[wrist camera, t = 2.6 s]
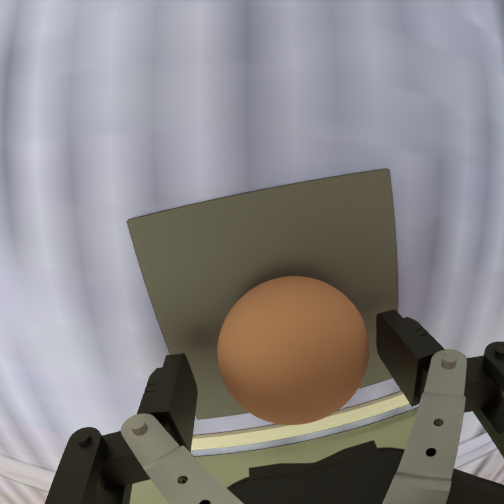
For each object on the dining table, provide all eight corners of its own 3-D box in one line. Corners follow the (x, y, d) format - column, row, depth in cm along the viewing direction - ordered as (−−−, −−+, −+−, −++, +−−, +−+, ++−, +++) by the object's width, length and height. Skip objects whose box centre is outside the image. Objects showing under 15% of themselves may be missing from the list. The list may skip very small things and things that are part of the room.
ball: (337, 244, 14) (396, 300, 9) (346, 351, 16) (387, 431, 10) (206, 270, 14) (189, 344, 9) (235, 375, 16) (236, 465, 10)
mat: (385, 168, 14) (389, 169, 13) (392, 373, 17) (395, 377, 17) (129, 219, 14) (126, 220, 14) (197, 414, 17) (197, 419, 17)
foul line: (442, 375, 18) (444, 378, 18) (439, 388, 18) (441, 390, 18) (100, 437, 18) (99, 440, 18) (107, 448, 18) (106, 451, 18)
